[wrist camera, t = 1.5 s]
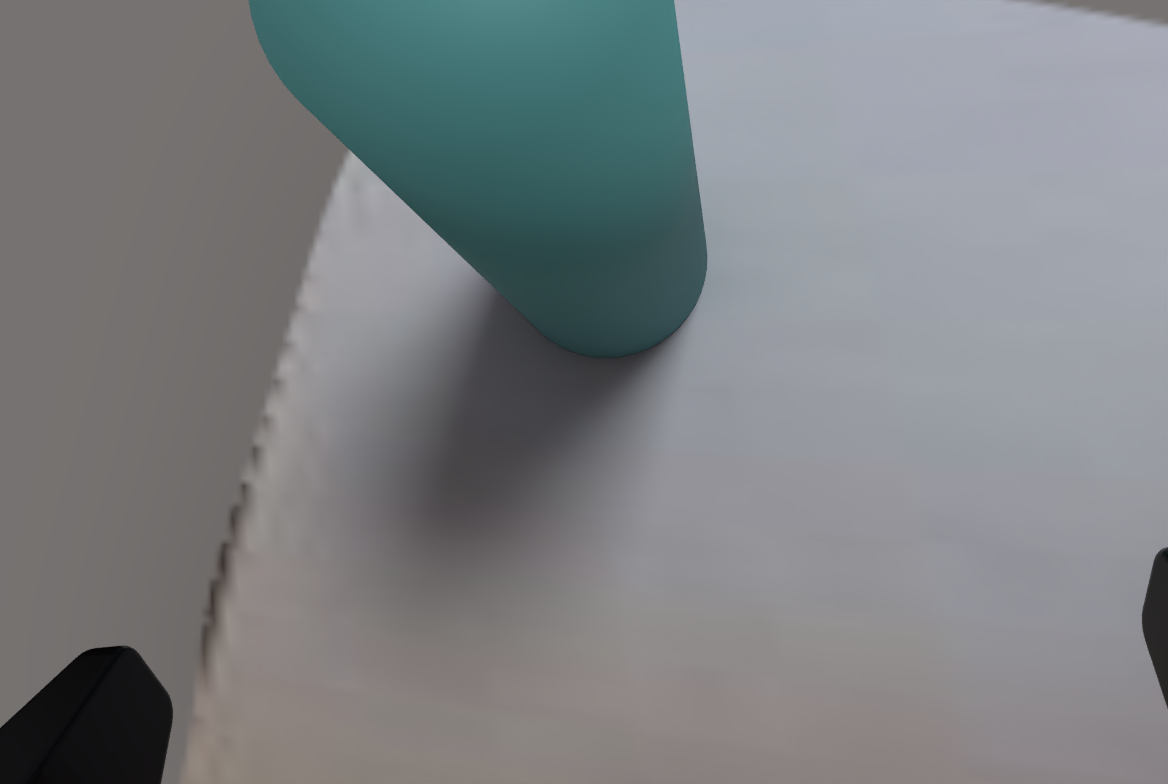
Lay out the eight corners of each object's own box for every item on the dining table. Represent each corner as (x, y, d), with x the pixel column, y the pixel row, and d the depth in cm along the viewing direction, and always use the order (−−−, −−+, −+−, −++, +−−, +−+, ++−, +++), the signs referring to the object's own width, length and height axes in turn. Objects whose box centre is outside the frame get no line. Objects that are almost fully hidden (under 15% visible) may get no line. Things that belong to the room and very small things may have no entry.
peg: (557, 389, 23) (332, 225, 11) (483, 217, 24) (192, -129, 11) (739, 306, 23) (735, 30, 10) (658, 133, 24) (559, -322, 11)
